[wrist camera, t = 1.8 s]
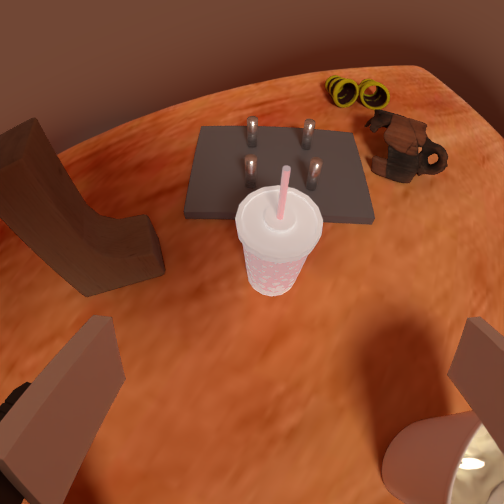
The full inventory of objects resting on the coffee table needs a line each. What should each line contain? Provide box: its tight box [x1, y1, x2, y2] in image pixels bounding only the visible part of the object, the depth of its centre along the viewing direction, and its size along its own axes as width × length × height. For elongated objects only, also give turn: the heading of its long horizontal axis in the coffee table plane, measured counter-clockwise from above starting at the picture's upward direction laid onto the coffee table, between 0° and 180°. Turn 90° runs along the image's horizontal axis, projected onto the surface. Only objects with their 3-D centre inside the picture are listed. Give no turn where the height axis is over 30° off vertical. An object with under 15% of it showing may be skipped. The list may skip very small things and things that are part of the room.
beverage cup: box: [235, 165, 323, 296], centre depth 23 cm, size 6×6×14 cm
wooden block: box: [0, 118, 165, 297], centre depth 21 cm, size 9×4×18 cm, turn 108°
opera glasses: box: [325, 75, 390, 110], centre depth 42 cm, size 10×5×5 cm, turn 95°
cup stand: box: [184, 116, 375, 224], centre depth 33 cm, size 20×14×5 cm
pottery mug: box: [365, 109, 448, 183], centre depth 35 cm, size 12×10×8 cm
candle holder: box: [382, 410, 504, 504], centre depth 15 cm, size 10×10×12 cm
